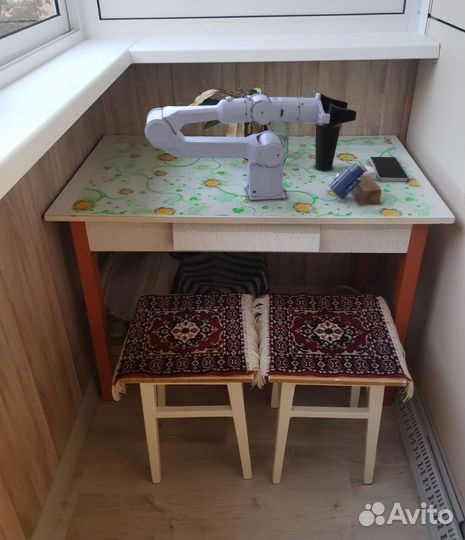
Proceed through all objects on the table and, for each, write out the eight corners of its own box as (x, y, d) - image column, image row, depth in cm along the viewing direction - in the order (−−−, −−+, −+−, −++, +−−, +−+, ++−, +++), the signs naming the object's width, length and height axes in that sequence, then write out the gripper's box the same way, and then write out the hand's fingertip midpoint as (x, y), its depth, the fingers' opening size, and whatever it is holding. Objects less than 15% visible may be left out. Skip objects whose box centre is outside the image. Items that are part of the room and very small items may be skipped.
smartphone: (379, 177, 141) (369, 156, 153) (379, 181, 142) (368, 160, 154) (408, 177, 141) (395, 156, 153) (408, 181, 141) (394, 160, 154)
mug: (332, 206, 129) (337, 169, 123) (325, 194, 135) (329, 158, 129) (368, 204, 130) (374, 167, 124) (359, 192, 135) (365, 157, 130)
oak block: (360, 205, 130) (362, 190, 127) (350, 189, 137) (352, 176, 135) (379, 204, 130) (381, 189, 128) (368, 189, 137) (370, 175, 135)
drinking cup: (329, 175, 145) (336, 105, 134) (305, 168, 149) (311, 100, 137) (341, 166, 150) (349, 98, 139) (318, 160, 154) (325, 93, 142)
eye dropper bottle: (369, 159, 142) (331, 165, 138) (378, 174, 139) (340, 181, 136) (363, 169, 146) (327, 176, 142) (372, 184, 143) (335, 191, 140)
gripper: (305, 101, 115) (363, 102, 117) (293, 85, 127) (345, 87, 129) (301, 131, 119) (357, 132, 120) (290, 113, 131) (341, 114, 132)
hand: (351, 111), depth 125 cm, fingers open, 7 cm apart
